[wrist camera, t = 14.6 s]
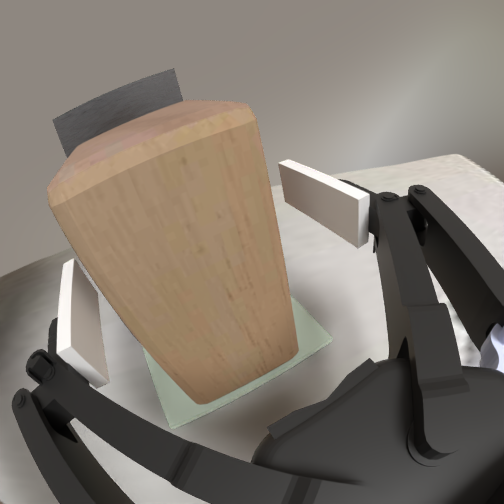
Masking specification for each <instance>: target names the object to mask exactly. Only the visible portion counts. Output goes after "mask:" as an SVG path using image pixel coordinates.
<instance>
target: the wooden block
mask: <svg viewBox="0 0 504 504" xmlns="http://www.w3.org/2000/svg"><path fill="white" fill-rule="evenodd" d="M47 193H48V202H49V207H50V208H51V210H52V212H53V214H54V216H55V218H56V220H57V221H58V223H59V225H60V227H61V229H62V231H63V232H64V234H65V236H66V237H67V239H68V241H69V243H70V244H71V246H72V248H73V249H74V251H75V253H76V254H77V256H78V257H79V259H80V261H81V262H82V264H83V265H84V267H85V268H86V270H87V271H88V273H89V275H90V276H91V278H92V279H93V281H94V282H95V283H96V285H97V286H98V288H99V289H100V291H101V292H102V294H103V295H104V296H105V298H106V299H107V301H108V302H109V303H110V305H111V306H112V307H113V309H114V310H115V311H116V313H117V314H118V315H119V317H120V318H121V319H122V321H123V322H124V323H125V325H126V326H127V327H128V328H129V330H130V331H131V332H132V333H133V335H134V336H135V337H136V338H137V340H138V341H139V342H140V343H141V344H142V346H143V347H144V348H145V349H146V350H147V352H148V353H149V354H150V355H151V356H152V357H153V359H154V360H155V361H156V362H157V363H158V364H159V365H160V367H161V368H162V369H163V370H164V371H165V372H166V373H167V374H168V375H169V376H170V378H171V379H172V380H173V381H174V382H175V383H176V384H177V385H178V386H179V387H180V388H181V389H182V390H183V391H184V392H185V393H186V394H187V395H188V396H189V397H190V398H191V399H192V400H193V401H194V402H195V403H196V404H199V405H202V404H208V403H210V402H212V401H214V400H216V399H219V398H221V397H223V396H225V395H227V394H229V393H231V392H233V391H235V390H237V389H239V388H240V387H242V386H244V385H246V384H248V383H250V382H252V381H254V380H256V379H257V378H259V377H261V376H263V375H265V374H267V373H268V372H270V371H272V370H274V369H275V368H277V367H279V366H281V365H282V364H284V363H286V362H288V361H289V360H291V359H293V357H294V356H295V355H296V354H297V353H298V351H299V347H298V341H297V334H296V328H295V321H294V315H293V309H292V303H291V297H290V291H289V285H288V279H287V273H286V267H285V261H284V256H283V250H282V245H281V239H280V234H279V228H278V223H277V218H276V212H275V207H274V202H273V197H272V192H271V186H270V181H269V177H268V172H267V166H266V162H265V157H264V152H263V147H262V143H261V138H260V133H259V128H258V124H257V119H256V117H255V115H254V114H253V112H252V110H251V109H250V107H249V106H248V105H247V104H246V103H239V102H231V101H211V100H210V101H209V100H185V101H182V102H179V103H176V104H173V105H170V106H167V107H165V108H162V109H159V110H156V111H154V112H151V113H149V114H146V115H144V116H141V117H139V118H136V119H134V120H131V121H129V122H127V123H124V124H122V125H120V126H118V127H115V128H113V129H111V130H109V131H107V132H105V133H102V134H100V135H98V136H96V137H94V138H92V139H90V140H88V141H86V142H84V143H82V144H80V145H78V146H77V147H76V149H75V150H74V151H73V152H72V153H71V154H70V156H69V157H68V158H67V160H66V161H65V163H64V164H63V165H62V167H61V168H60V170H59V171H58V172H57V174H56V175H55V177H54V178H53V180H52V181H51V183H50V184H49V186H48V187H47Z"/></svg>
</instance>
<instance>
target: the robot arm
mask: <svg viewBox="0 0 504 504" xmlns="http://www.w3.org/2000/svg"><path fill="white" fill-rule="evenodd" d="M278 164H279V170H280V176H281V181H282V187H283V192H284V198H285V202H287V203H288V204H290V205H291V206H293V207H295V208H296V209H298V210H300V211H301V212H303V213H304V214H306V215H308V216H309V217H311V218H312V219H314V220H315V221H317V222H319V223H320V224H322V225H323V226H325V227H326V228H328V229H329V230H331V231H333V232H334V233H336V234H337V235H339V236H340V237H342V238H343V239H345V240H346V241H348V242H349V243H351V244H352V245H354V246H355V247H357V248H360V247H361V246H363V245H364V244H366V243H367V242H368V238H369V232H370V233H372V234H373V235H374V246H373V253H375V250H376V255H377V260H378V266H379V272H380V278H381V284H382V291H383V298H384V305H385V313H386V321H387V331H388V341H389V357H388V359H387V360H382V361H379V362H376V363H374V362H373V361H372V360H371V359H370V358H369V359H368V360H366V361H365V362H364V363H363V364H361V365H360V366H359V367H357V368H356V369H355V370H353V371H352V372H351V373H349V374H348V375H347V376H346V377H345V379H344V380H343V381H342V382H341V383H340V385H339V386H338V387H337V388H336V389H335V390H334V392H333V393H332V394H331V395H330V396H329V397H328V398H327V399H326V400H324V401H321V402H318V403H316V404H313V405H310V406H308V407H305V408H302V409H299V410H296V411H294V412H292V413H290V414H289V415H287V416H285V417H284V418H282V419H280V420H279V421H277V422H275V423H274V424H272V425H270V426H268V427H267V429H268V430H269V432H270V433H271V434H268V435H267V436H266V437H265V438H264V440H263V441H262V442H261V443H260V444H259V446H258V448H257V449H256V451H255V453H254V455H253V457H252V461H251V463H248V462H245V461H242V460H239V459H236V458H233V457H231V456H228V455H225V454H222V453H220V452H217V451H214V450H212V449H209V448H207V447H204V446H202V445H199V444H197V443H194V442H189V441H187V440H185V439H182V438H180V437H178V436H176V435H174V434H172V433H170V432H167V431H165V430H163V429H161V428H159V427H157V426H156V425H154V424H152V423H150V422H148V421H146V420H144V419H142V418H141V417H139V416H137V415H135V414H133V413H132V412H130V411H128V410H126V409H125V408H123V407H121V406H120V405H118V404H116V403H115V402H113V401H112V400H110V399H108V398H107V397H105V396H104V395H102V394H101V393H99V392H98V391H96V390H95V389H93V388H92V387H90V386H89V383H90V384H92V385H93V386H94V387H95V388H96V389H97V388H99V387H101V386H103V385H106V384H108V383H110V381H109V376H108V370H107V365H106V359H105V353H104V346H103V339H102V331H101V323H100V314H99V303H98V293H97V292H96V290H95V289H94V287H93V286H92V284H91V283H90V281H89V280H88V279H87V277H86V276H85V274H84V273H83V271H82V270H81V268H80V266H79V265H78V263H77V262H76V260H75V259H74V258H73V259H71V260H70V261H68V262H66V263H64V264H63V271H62V279H61V287H60V297H59V308H58V317H57V318H55V319H54V320H52V323H51V325H50V328H49V338H48V344H49V345H48V353H47V352H46V351H45V350H43V349H40V350H37V351H35V352H34V353H33V354H32V355H31V356H30V358H29V359H28V361H27V365H26V372H27V374H28V375H29V376H30V377H31V378H32V379H33V380H34V381H36V382H37V383H38V384H39V386H38V387H37V388H36V389H35V390H33V391H32V392H29V391H28V390H27V389H24V388H22V389H20V390H18V391H17V392H16V394H15V395H14V398H13V400H12V409H13V412H14V415H15V418H16V420H17V423H18V425H19V428H20V430H21V432H22V435H23V437H24V439H25V442H26V444H27V446H28V448H29V450H30V452H31V454H32V456H33V458H34V460H35V462H36V464H37V466H38V468H39V470H40V472H41V474H42V475H43V477H44V479H45V481H46V482H47V484H48V486H49V487H50V489H51V491H52V492H53V494H54V496H55V497H56V499H57V500H58V502H59V503H60V504H135V503H134V502H133V501H132V500H131V499H130V498H129V497H128V496H127V495H126V494H125V493H124V492H123V491H122V490H121V489H120V488H119V486H118V485H117V484H116V483H115V482H114V481H113V480H112V479H111V477H110V476H109V475H108V474H107V473H106V471H105V470H104V469H103V468H102V467H101V465H100V464H99V463H98V461H97V460H96V459H95V458H94V456H93V455H92V454H91V452H90V451H89V450H88V448H87V447H86V446H85V444H84V443H83V441H82V440H81V439H80V437H79V436H78V434H77V433H76V431H75V430H74V428H73V427H72V425H71V424H70V421H71V420H72V419H73V418H76V419H78V420H79V421H80V422H81V423H82V424H84V425H85V426H86V427H87V428H89V429H90V430H91V431H92V432H94V433H95V434H96V435H98V436H99V437H100V438H102V439H103V440H104V441H106V442H107V443H108V444H110V445H111V446H113V447H114V448H115V449H117V450H118V451H120V452H121V453H123V454H124V455H126V456H127V457H129V458H130V459H132V460H133V461H135V462H137V463H138V464H140V465H142V466H143V467H145V468H146V469H148V470H150V471H152V472H153V473H155V474H157V475H159V476H160V477H162V478H164V479H166V480H167V481H169V482H170V483H171V484H172V485H173V486H175V487H176V488H178V489H180V490H182V491H184V492H186V493H188V494H190V495H192V496H194V497H197V498H199V499H201V500H203V501H206V502H208V503H210V504H504V270H503V268H502V267H501V266H500V265H499V263H498V262H497V261H496V259H495V258H494V257H493V256H492V255H491V253H490V252H489V251H488V250H487V249H486V247H485V246H484V245H483V244H482V243H481V242H480V240H479V239H478V238H477V237H476V236H475V235H474V234H473V232H472V231H471V230H470V229H469V228H468V227H467V226H466V225H465V224H464V223H463V222H462V221H461V220H460V218H459V217H458V216H457V215H456V214H455V213H454V212H453V211H452V210H451V209H450V208H449V207H448V206H447V205H446V204H445V203H444V202H443V201H442V200H441V199H440V198H439V197H437V196H436V195H435V194H434V193H433V192H432V191H431V190H430V189H429V188H427V187H425V186H423V185H413V186H410V187H409V190H408V195H407V196H403V197H399V196H398V195H397V194H395V193H391V192H381V193H379V194H376V193H374V192H372V191H369V190H367V189H365V188H363V187H360V186H359V185H355V184H354V183H352V182H350V181H347V180H341V179H335V178H333V177H331V176H328V175H326V174H324V173H321V172H319V171H316V170H314V169H312V168H309V167H306V166H304V165H302V164H299V163H297V162H294V161H292V160H289V159H288V160H285V161H282V162H280V163H278ZM427 224H428V225H427ZM427 265H428V267H429V268H430V270H431V271H432V273H433V274H434V276H435V278H436V279H437V281H438V282H439V284H440V286H441V287H442V289H443V291H444V292H445V294H446V295H447V297H448V299H449V301H450V302H451V304H452V306H453V307H454V309H455V311H456V313H457V315H458V316H459V318H460V320H461V322H462V324H463V326H464V327H465V329H466V331H467V333H468V335H469V336H470V338H471V340H472V342H473V343H474V344H475V346H476V347H477V349H478V350H479V351H480V352H481V360H480V367H470V366H461V361H460V356H459V351H458V347H457V342H456V338H455V334H454V330H453V326H452V322H451V318H450V314H449V311H448V308H447V306H446V304H445V303H439V302H438V299H437V296H436V292H435V289H434V286H433V282H432V279H431V276H430V273H429V270H428V267H427ZM272 436H273V437H272Z"/></svg>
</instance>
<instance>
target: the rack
mask: <svg viewBox="0 0 504 504" xmlns="http://www.w3.org/2000/svg"><path fill="white" fill-rule="evenodd" d="M182 101H183V99H182V95H181V92H180V88H179V85H178V81H177V78H176V74H175V71H174V68H173V69H170V70H167V71H164V72H161V73H158V74H155V75H152V76H149V77H146V78H143V79H140V80H138V81H135V82H132V83H130V84H127V85H125V86H122V87H120V88H118V89H115V90H112V91H110V92H108V93H105V94H103V95H101V96H99V97H97V98H94V99H92V100H90V101H88V102H86V103H84V104H82V105H80V106H78V107H76V108H74V109H72V110H70V111H68V112H66V113H64V114H63V115H61V116H59V117H57V118H55V119H53V123H54V125H55V128H56V131H57V133H58V136H59V139H60V141H61V144H62V146H63V149H64V151H65V154H66V156H67V158H68V157H69V156H70V154H71V153H72V152H73V151H74V150H75V149H76V147H77V146H78V145H80V144H82V143H84V142H86V141H88V140H90V139H92V138H94V137H96V136H98V135H100V134H102V133H105V132H107V131H109V130H111V129H113V128H115V127H118V126H120V125H122V124H124V123H127V122H129V121H131V120H134V119H136V118H139V117H141V116H144V115H146V114H149V113H151V112H154V111H156V110H159V109H162V108H165V107H167V106H170V105H173V104H176V103H179V102H182ZM120 319H121V318H120ZM121 320H122V319H121ZM122 322H123V321H122ZM123 323H124V322H123ZM124 324H125V323H124ZM126 327H127V326H126ZM127 328H128V327H127ZM128 329H129V328H128ZM130 332H131V331H130ZM131 333H132V332H131ZM132 334H133V333H132ZM134 337H135V336H134ZM135 338H136V337H135ZM136 339H137V338H136Z"/></svg>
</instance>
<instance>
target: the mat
mask: <svg viewBox="0 0 504 504" xmlns="http://www.w3.org/2000/svg"><path fill="white" fill-rule="evenodd" d="M290 297H291V303H292V309H293V315H294V321H295V328H296V334H297V341H298V347H299V351H298V353H297V354H296V355H295V356H294V357H293V359H291V360H289V361H288V362H286V363H284V364H282V365H281V366H279V367H277V368H275V369H274V370H272V371H270V372H268V373H267V374H265V375H263V376H261V377H259V378H257V379H256V380H254V381H252V382H250V383H248V384H246V385H244V386H242V387H240V388H239V389H237V390H235V391H233V392H231V393H229V394H227V395H225V396H223V397H221V398H219V399H216V400H214V401H212V402H210V403H208V404H202V405H199V404H196V403H195V402H194V401H193V400H192V399H191V398H190V397H189V396H188V395H187V394H186V393H185V392H184V391H183V390H182V389H181V388H180V387H179V386H178V385H177V384H176V383H175V382H174V381H173V380H172V379H171V378H170V376H169V375H168V374H167V373H166V372H165V371H164V370H163V369H162V368H161V367H160V365H159V364H158V363H157V362H156V361H155V360H154V359H153V357H152V356H151V355H150V354H149V353H148V352H147V350H146V349H145V348H144V347H143V346H142V348H143V351H144V354H145V358H146V361H147V364H148V368H149V371H150V374H151V377H152V380H153V383H154V386H155V389H156V392H157V395H158V398H159V400H160V403H161V406H162V409H163V411H164V414H165V417H166V419H167V422H168V424H169V427H170V428H171V429H175V428H177V427H180V426H182V425H184V424H186V423H189V422H191V421H193V420H195V419H197V418H200V417H202V416H204V415H206V414H208V413H210V412H212V411H214V410H216V409H218V408H220V407H222V406H224V405H226V404H228V403H230V402H232V401H234V400H236V399H238V398H239V397H241V396H243V395H245V394H247V393H249V392H251V391H252V390H254V389H256V388H258V387H260V386H261V385H263V384H265V383H267V382H268V381H270V380H272V379H273V378H275V377H277V376H279V375H280V374H282V373H284V372H285V371H287V370H289V369H290V368H292V367H293V366H295V365H297V364H298V363H300V362H301V361H303V360H305V359H306V358H308V357H309V356H311V355H312V354H314V353H315V352H317V351H318V350H320V349H321V348H323V347H324V346H326V345H327V344H329V343H330V342H332V336H331V335H330V334H329V333H328V332H327V331H326V330H325V329H324V328H323V327H322V326H321V325H320V324H319V323H318V322H317V321H316V320H315V319H314V318H313V317H312V316H311V315H310V314H309V313H308V312H307V311H306V310H305V309H304V308H303V307H302V306H301V305H300V304H299V303H298V301H297V300H296V299H295V298H294V297H293V296H292V295H291V294H290Z"/></svg>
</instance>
